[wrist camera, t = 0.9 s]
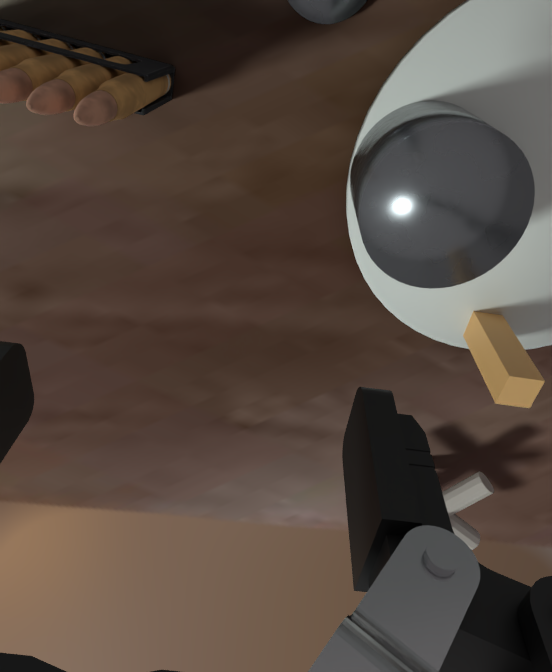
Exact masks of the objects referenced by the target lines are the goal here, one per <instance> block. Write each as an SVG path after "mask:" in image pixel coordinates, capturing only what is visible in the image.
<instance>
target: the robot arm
mask: <svg viewBox="0 0 552 672" xmlns="http://www.w3.org/2000/svg"><path fill="white" fill-rule="evenodd" d="M33 405H34V392H33V387H32V382H31V377H30V372H29V367H28V362H27V357H26V352H25V349H24V347H23V346H22V345H21V344H18V343H10V342H2V341H0V463H1V462H2V460H3V459H4V457H5V455H6V454H7V452H8V451H9V449H10V448H11V446H12V445H13V443H14V442H15V440H16V439H17V437H18V436H19V434H20V433H21V431H22V430H23V428H24V427H25V425H26V424H27V422H28V420H29V418H30V416H31V413H32V410H33ZM342 456H343V470H344V482H345V493H346V505H347V516H348V528H349V539H350V550H351V562H352V574H353V585H354V591H362V592H367V593H366V595H365V596H364V598H363V599H362V601H361V602H360V604H359V605H358V607H357V608H356V610H355V611H354V612H353V614H352V615H351V616H347V617H346V618H345V619H344V620H343V622H342V623H341V624H340V626H339V627H338V628H337V630H336V631H335V633H334V634H333V636H332V637H331V639H330V640H329V642H328V643H327V645H326V646H325V648H324V649H323V650H322V652H321V654H320V655H319V657H318V658H317V660H316V661H315V662H314V664H313V665H312V667H311V668H310V670H309V671H308V672H552V576H548V577H544V578H541V579H539V580H538V581H536V582H535V584H534V585H533V586H532V587H530V586H527V585H525V584H522V583H520V582H518V581H515V580H513V579H510V578H508V577H506V576H503V575H501V574H498V573H496V572H494V571H492V570H490V569H487V568H486V567H484V566H483V565H481V564H480V563H479V562H478V561H477V559H476V557H475V555H474V554H473V552H472V550H471V549H470V548H469V547H468V545H467V544H466V543H465V542H464V541H463V540H461V539H460V538H459V537H458V536H456V535H455V534H454V531H453V529H452V525H451V522H450V518H449V515H448V511H447V508H446V504H445V501H444V497H443V494H442V490H441V487H440V483H439V480H438V476H437V473H436V471H435V470H434V468H435V466H434V462H433V459H432V455H430V448H429V445H428V441H427V438H426V434H425V432H424V431H423V429H422V428H421V427H420V426H419V424H418V423H417V422H416V420H415V419H414V418H413V417H412V415H404V414H397V410H396V406H395V402H394V397H393V394H392V392H391V391H389V390H381V389H373V388H365V387H359V388H358V390H357V392H356V395H355V399H354V402H353V406H352V410H351V413H350V417H349V420H348V424H347V428H346V431H345V435H344V441H343V455H342ZM0 672H66V671H64V670H61V669H59V668H57V667H55V666H52V665H50V664H48V663H46V662H44V661H41V660H39V659H37V658H35V657H32V656H25V655H17V654H6V653H0ZM153 672H178V671H168V670H157V671H153Z"/></svg>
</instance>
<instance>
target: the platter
mask: <svg viewBox="0 0 552 672" xmlns="http://www.w3.org/2000/svg"><path fill="white" fill-rule="evenodd" d="M430 100H435V101H444V102H448V103H452V104H455V105H457V106H460V107H462V108H464V109H465V110H467V111H469V112H470V113H472V114H473V115H475V116H476V117H478V118H480V119H481V120H483V121H484V122H486V123H487V124H489V125H490V126H492V127H494V128H495V129H497V130H498V131H500V132H501V133H503V134H505V135H506V136H508V137H509V138H510V139H511V140H512V141H513V142H515V143H516V144H517V146H518V147H519V148H520V149H521V150H522V152H523V153H524V155H525V157H526V158H527V160H528V162H529V165H530V167H531V170H532V174H533V178H534V186H535V197H534V206H533V210H532V215H531V217H530V220H529V223H528V226H527V228H526V230H525V232H524V234H523V235H522V237H521V239H520V240H519V242H518V243H517V245H516V246H515V247H514V248H513V250H512V251H511V252H510V253H509V254H508V255H507V256H506V257H505V258H504V259H503V260H502V261H501V262H500V263H499V264H497V265H496V266H495V267H494V268H492V269H491V270H489V271H488V272H486V273H485V274H483V275H481V276H479V277H477V278H475V279H473V280H471V281H468V282H466V283H463V284H460V285H456V286H452V287H446V288H432V289H429V288H419V287H414V286H410V285H407V284H404V283H401V282H399V281H397V280H395V279H393V278H391V277H390V276H388V275H387V274H385V273H384V272H383V271H382V270H381V269H380V268H379V267H377V265H376V264H375V263H374V262H373V261H372V259H371V258H370V256H369V254H368V253H367V251H366V249H365V246H364V244H363V241H362V237H361V233H360V229H359V225H358V221H357V217H356V213H355V209H354V205H353V201H352V197H351V191H350V172H351V166H352V163H353V159H354V156H355V154H356V151H357V149H358V147H359V145H360V143H361V142H362V140H363V138H364V137H365V136H366V134H367V133H368V132H369V130H370V129H371V128H372V127H373V126H374V125H375V124H376V123H377V122H378V121H380V120H381V119H382V118H383V117H384V116H386V115H388V114H389V113H391V112H392V111H394V110H396V109H398V108H400V107H402V106H405V105H408V104H411V103H415V102H420V101H430ZM346 213H347V222H348V230H349V236H350V240H351V244H352V247H353V251H354V255H355V258H356V261H357V263H358V265H359V268H360V270H361V272H362V275H363V277H364V279H365V280H366V282H367V283H368V285H369V287H370V288H371V290H372V291H373V293H374V294H375V296H376V297H377V298H378V299H379V300H380V301H381V303H382V304H383V305H384V306H385V307H386V308H387V309H388V310H389V311H390V312H391V313H392V314H393V315H395V316H396V317H397V318H398V319H399V320H400V321H402V322H403V323H405V324H406V325H408V326H409V327H411V328H412V329H414V330H415V331H417V332H419V333H421V334H423V335H426V336H428V337H430V338H432V339H434V340H437V341H440V342H443V343H446V344H449V345H452V346H457V347H462V348H467V349H470V351H471V353H472V355H473V358H474V360H475V362H476V364H477V366H478V368H479V370H480V372H481V374H482V376H483V378H484V380H485V383H486V385H487V387H488V389H489V391H490V393H491V395H492V397H493V399H494V401H495V403H496V404H503V405H510V406H517V407H525V408H530V407H531V405H532V403H533V401H534V400H535V398H536V396H537V394H538V393H539V391H540V389H541V387H542V385H543V384H544V382H545V380H544V379H543V377H542V376H541V374H540V373H539V371H538V370H537V368H536V366H535V365H534V363H533V362H532V360H531V359H530V357H529V355H528V354H527V352H526V351H525V349H533V348H539V347H543V346H548V345H552V0H466V1H465V2H464V3H462V4H461V5H459V6H458V7H456V8H455V9H453V10H452V11H451V12H449V13H448V14H446V15H445V16H444V17H443V18H442V19H441V20H440V21H438V22H437V23H436V24H435V25H434V26H433V27H432V28H430V29H429V30H428V31H427V32H426V33H425V34H424V35H422V36H421V38H420V39H419V40H418V41H417V42H416V43H415V44H414V45H413V46H412V48H411V49H410V50H409V51H408V52H407V53H406V54H405V55H404V56H403V57H402V59H401V60H400V61H399V62H398V64H397V65H396V67H395V68H394V69H393V71H392V72H391V74H390V75H389V76H388V78H387V79H386V80H385V82H384V83H383V85H382V86H381V88H380V90H379V92H378V94H377V95H376V97H375V99H374V101H373V102H372V104H371V106H370V108H369V110H368V112H367V114H366V116H365V119H364V121H363V124H362V126H361V129H360V131H359V133H358V136H357V139H356V143H355V146H354V150H353V153H352V157H351V160H350V166H349V173H348V179H347V186H346Z"/></svg>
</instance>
